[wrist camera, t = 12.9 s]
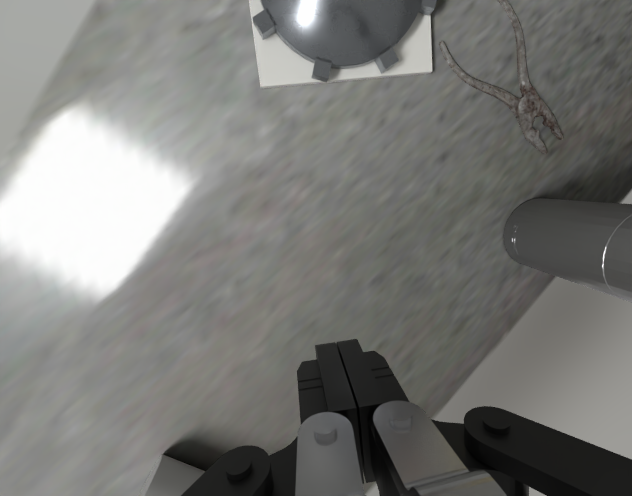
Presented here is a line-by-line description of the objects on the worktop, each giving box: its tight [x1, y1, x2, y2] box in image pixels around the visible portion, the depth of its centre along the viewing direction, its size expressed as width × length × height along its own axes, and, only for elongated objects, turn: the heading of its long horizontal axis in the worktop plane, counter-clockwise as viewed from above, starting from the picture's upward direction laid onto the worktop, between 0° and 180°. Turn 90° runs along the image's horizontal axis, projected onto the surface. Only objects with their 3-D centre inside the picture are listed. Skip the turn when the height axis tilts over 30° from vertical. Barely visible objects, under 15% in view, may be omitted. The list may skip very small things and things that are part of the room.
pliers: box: [439, 0, 564, 154], centre depth 41 cm, size 10×1×20 cm
